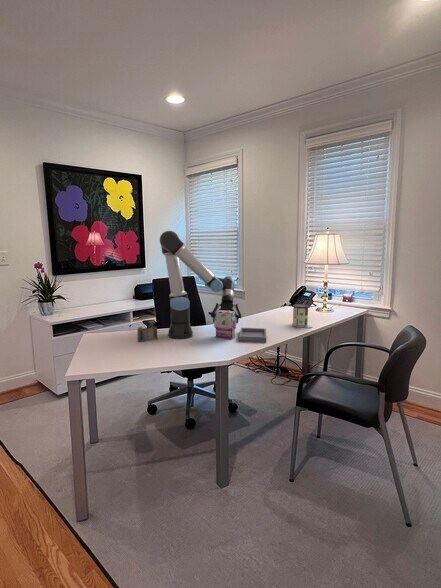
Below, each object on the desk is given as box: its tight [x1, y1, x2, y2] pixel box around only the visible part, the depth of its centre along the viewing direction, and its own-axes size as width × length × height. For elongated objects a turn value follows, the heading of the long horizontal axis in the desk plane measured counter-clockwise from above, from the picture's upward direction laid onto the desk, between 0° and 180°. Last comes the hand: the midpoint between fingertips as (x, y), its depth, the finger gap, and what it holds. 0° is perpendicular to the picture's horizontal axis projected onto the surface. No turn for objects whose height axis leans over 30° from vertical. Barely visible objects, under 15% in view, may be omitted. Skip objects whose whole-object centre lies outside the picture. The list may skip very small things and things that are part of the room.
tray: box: [238, 327, 267, 343], centre depth 217 cm, size 16×20×3 cm
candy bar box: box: [215, 309, 236, 340], centre depth 214 cm, size 11×5×16 cm, turn 67°
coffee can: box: [292, 303, 309, 328], centre depth 246 cm, size 10×10×14 cm
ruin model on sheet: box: [136, 326, 158, 343], centre depth 208 cm, size 11×3×10 cm, turn 119°
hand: (225, 327), depth 213 cm, fingers closed on candy bar box, 12 cm apart
